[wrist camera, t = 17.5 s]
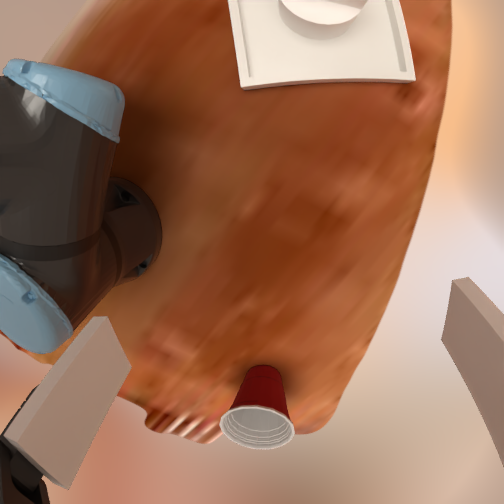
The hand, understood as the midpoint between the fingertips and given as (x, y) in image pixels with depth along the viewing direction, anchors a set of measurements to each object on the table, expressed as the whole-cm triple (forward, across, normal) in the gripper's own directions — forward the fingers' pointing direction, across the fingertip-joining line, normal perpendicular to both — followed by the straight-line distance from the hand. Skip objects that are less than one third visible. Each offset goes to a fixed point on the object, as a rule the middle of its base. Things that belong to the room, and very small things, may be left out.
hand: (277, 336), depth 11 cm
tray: (+28, +8, +22) cm, 37 cm away
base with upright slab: (+28, +8, +22) cm, 36 cm away
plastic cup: (+29, -7, -31) cm, 43 cm away
